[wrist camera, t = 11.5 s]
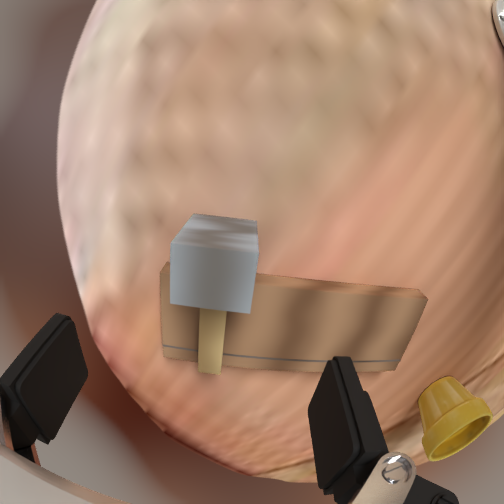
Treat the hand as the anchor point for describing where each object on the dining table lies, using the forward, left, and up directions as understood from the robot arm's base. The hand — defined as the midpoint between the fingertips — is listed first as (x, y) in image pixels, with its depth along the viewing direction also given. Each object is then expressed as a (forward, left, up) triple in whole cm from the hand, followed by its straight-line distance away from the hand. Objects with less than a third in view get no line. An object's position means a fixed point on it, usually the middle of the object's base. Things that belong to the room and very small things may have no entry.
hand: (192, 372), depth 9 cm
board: (-7, +7, -15) cm, 18 cm away
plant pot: (-32, +19, -15) cm, 40 cm away
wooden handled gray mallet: (0, +5, -15) cm, 16 cm away
